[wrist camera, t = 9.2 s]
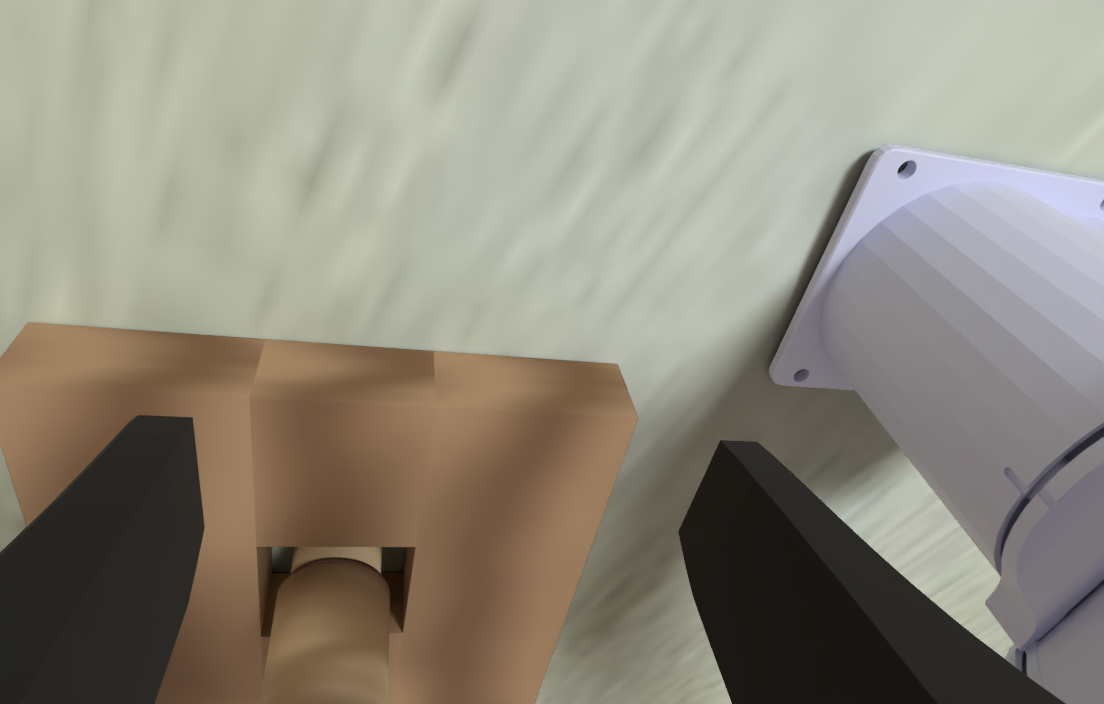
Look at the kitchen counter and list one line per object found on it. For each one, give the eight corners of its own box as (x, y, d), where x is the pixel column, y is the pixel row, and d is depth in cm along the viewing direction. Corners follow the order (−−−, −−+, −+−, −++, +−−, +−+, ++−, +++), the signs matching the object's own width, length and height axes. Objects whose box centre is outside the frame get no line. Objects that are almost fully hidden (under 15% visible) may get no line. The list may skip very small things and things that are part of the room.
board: (617, 364, 22) (637, 417, 20) (524, 653, 31) (532, 709, 29) (27, 322, 18) (-19, 384, 16) (116, 667, 27) (93, 734, 25)
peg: (390, 490, 24) (385, 733, 18) (391, 554, 26) (387, 793, 19) (284, 494, 23) (239, 749, 17) (293, 560, 25) (256, 809, 19)
